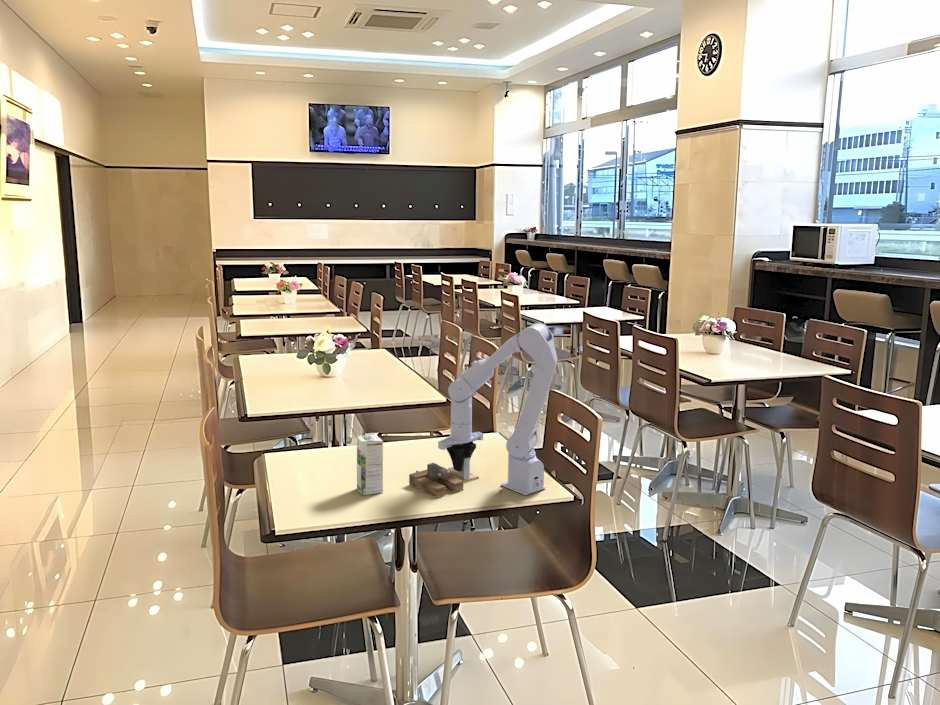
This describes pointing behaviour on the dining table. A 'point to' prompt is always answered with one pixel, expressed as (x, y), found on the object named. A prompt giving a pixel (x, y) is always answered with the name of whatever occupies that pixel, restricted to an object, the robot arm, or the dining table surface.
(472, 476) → the cork mat
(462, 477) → the grey l-shaped block
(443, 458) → the dining table surface
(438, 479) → the vise
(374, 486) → the drink carton
